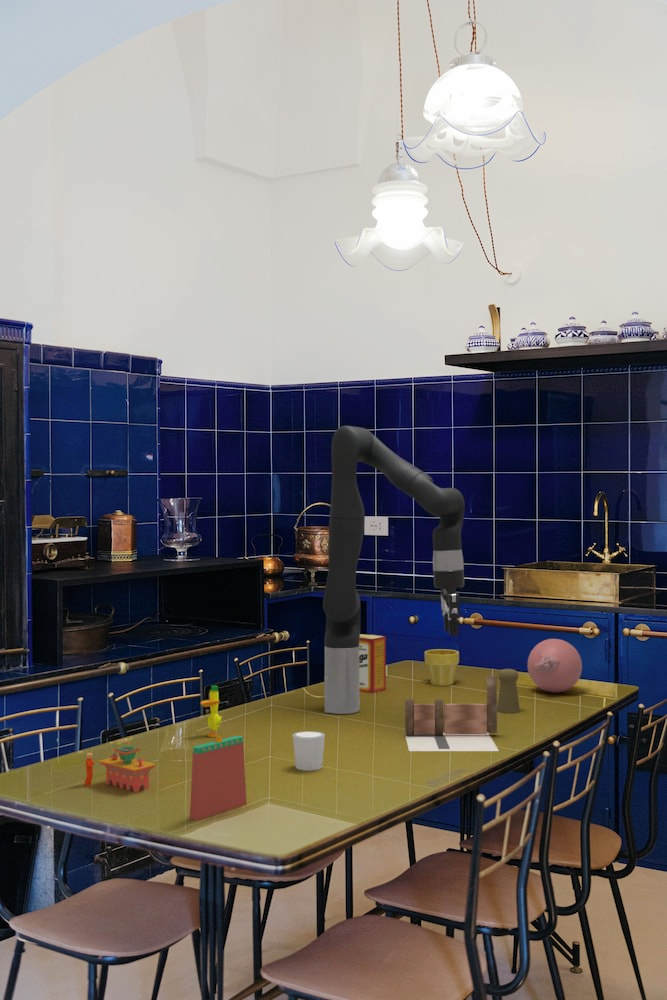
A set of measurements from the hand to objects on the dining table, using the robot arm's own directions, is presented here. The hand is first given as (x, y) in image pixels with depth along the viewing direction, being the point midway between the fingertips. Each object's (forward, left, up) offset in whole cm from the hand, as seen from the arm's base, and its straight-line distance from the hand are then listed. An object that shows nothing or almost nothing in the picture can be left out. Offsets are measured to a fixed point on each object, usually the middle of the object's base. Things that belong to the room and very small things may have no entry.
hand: (451, 633), depth 266 cm
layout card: (-2, -19, -23) cm, 30 cm away
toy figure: (-58, -12, -23) cm, 64 cm away
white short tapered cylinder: (-34, -40, -23) cm, 57 cm away
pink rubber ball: (+33, +41, -23) cm, 57 cm away
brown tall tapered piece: (+17, +17, -23) cm, 33 cm away
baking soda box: (-20, +47, -23) cm, 56 cm away
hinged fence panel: (+3, -13, -22) cm, 26 cm away
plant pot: (+3, +56, -23) cm, 61 cm away
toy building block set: (-62, -60, -23) cm, 90 cm away
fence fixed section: (-8, -13, -23) cm, 27 cm away
